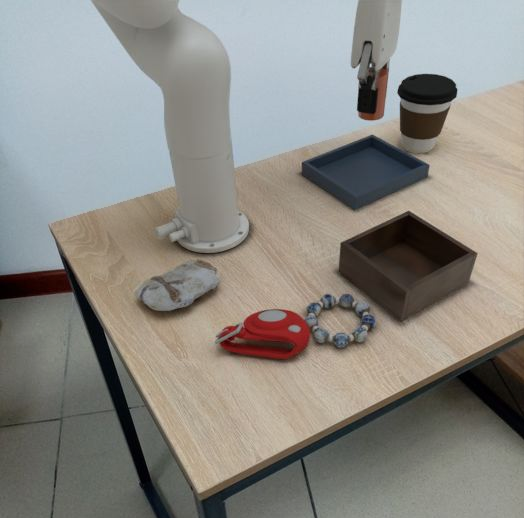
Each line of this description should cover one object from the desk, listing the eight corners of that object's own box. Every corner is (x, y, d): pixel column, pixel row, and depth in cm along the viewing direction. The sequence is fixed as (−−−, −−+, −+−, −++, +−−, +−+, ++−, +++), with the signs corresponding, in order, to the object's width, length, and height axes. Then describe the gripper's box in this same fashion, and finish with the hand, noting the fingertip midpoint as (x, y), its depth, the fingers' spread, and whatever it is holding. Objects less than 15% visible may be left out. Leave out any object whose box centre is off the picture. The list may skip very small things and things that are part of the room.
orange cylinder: (369, 123, 90) (373, 80, 85) (352, 114, 92) (355, 71, 87) (389, 115, 91) (394, 72, 86) (371, 107, 94) (376, 65, 89)
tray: (354, 209, 93) (355, 197, 91) (301, 174, 102) (301, 161, 100) (427, 177, 99) (429, 164, 97) (371, 146, 108) (372, 134, 106)
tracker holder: (270, 296, 77) (324, 314, 70) (272, 324, 79) (324, 344, 72) (206, 325, 69) (259, 348, 63) (209, 354, 72) (261, 379, 65)
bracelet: (317, 357, 70) (318, 346, 69) (293, 309, 76) (293, 299, 75) (385, 339, 72) (387, 328, 70) (356, 293, 78) (357, 283, 76)
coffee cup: (378, 146, 108) (386, 84, 99) (413, 128, 112) (423, 67, 103) (421, 165, 102) (433, 101, 93) (457, 145, 106) (471, 83, 97)
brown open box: (400, 321, 74) (406, 291, 70) (338, 271, 82) (340, 242, 78) (468, 283, 78) (477, 253, 74) (403, 239, 86) (408, 210, 82)
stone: (166, 329, 75) (161, 312, 73) (130, 299, 80) (124, 282, 77) (229, 288, 80) (227, 271, 78) (192, 262, 85) (189, 245, 82)
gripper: (376, -37, 83) (366, 84, 97) (338, -6, 74) (332, 124, 87) (424, -35, 81) (406, 89, 94) (391, -2, 71) (376, 131, 85)
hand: (371, 104), depth 91 cm, fingers closed on orange cylinder, 4 cm apart
